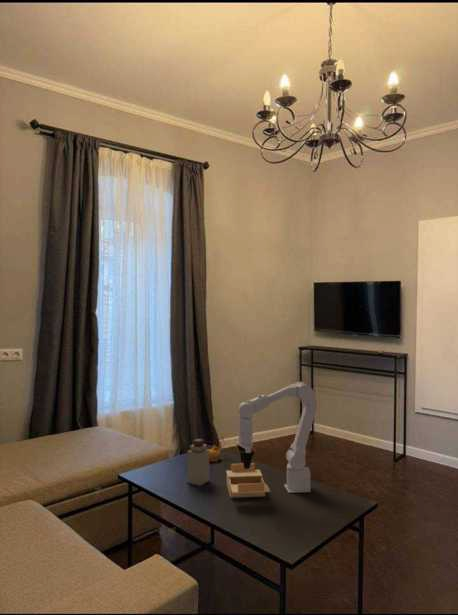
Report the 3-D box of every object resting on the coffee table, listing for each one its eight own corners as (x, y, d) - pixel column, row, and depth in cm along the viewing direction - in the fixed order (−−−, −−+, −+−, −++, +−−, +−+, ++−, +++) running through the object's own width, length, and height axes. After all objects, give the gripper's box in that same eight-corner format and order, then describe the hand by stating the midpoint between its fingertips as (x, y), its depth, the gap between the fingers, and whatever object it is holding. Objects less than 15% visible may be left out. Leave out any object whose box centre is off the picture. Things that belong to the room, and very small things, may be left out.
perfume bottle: (209, 480, 191) (209, 439, 191) (199, 485, 185) (200, 443, 186) (196, 477, 195) (196, 437, 195) (187, 482, 189) (187, 440, 189)
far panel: (259, 470, 189) (259, 463, 189) (262, 476, 182) (262, 468, 182) (226, 471, 188) (226, 464, 188) (227, 477, 181) (227, 469, 181)
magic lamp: (191, 461, 216) (191, 439, 217) (221, 455, 227) (221, 433, 227) (198, 465, 211) (198, 442, 211) (228, 458, 221) (229, 436, 221)
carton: (258, 483, 189) (259, 471, 189) (265, 496, 175) (265, 483, 175) (226, 484, 187) (226, 472, 187) (230, 497, 173) (230, 485, 174)
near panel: (266, 484, 173) (266, 476, 173) (270, 491, 166) (270, 483, 166) (230, 486, 172) (230, 477, 172) (232, 493, 165) (232, 484, 165)
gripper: (233, 427, 188) (233, 459, 188) (238, 437, 173) (238, 471, 173) (250, 427, 189) (249, 459, 188) (255, 436, 174) (255, 471, 174)
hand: (245, 465), depth 181 cm, fingers open, 7 cm apart
